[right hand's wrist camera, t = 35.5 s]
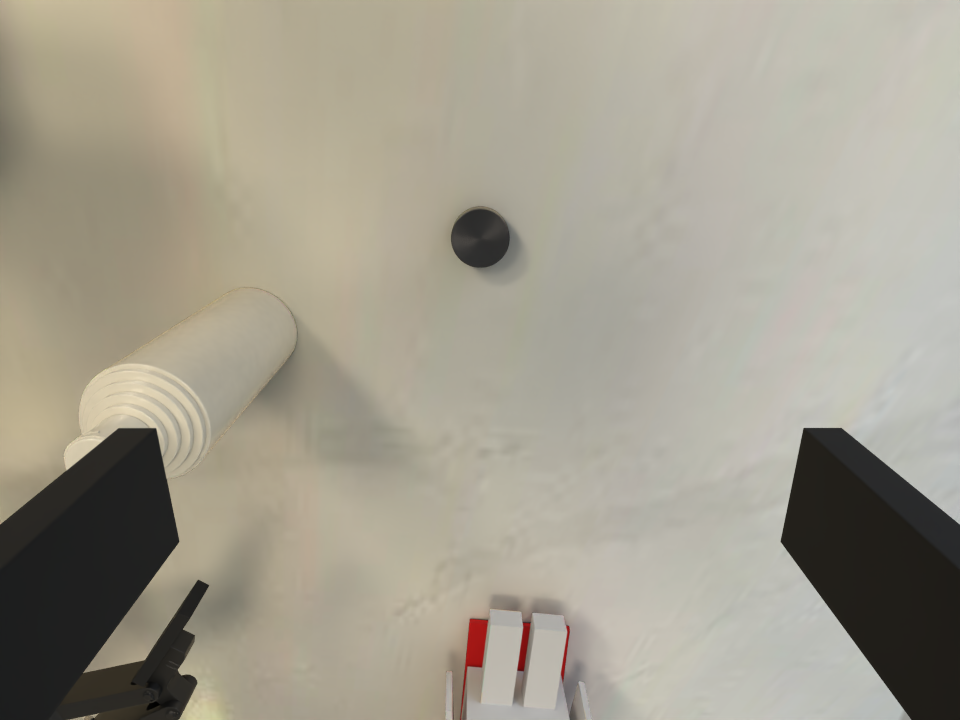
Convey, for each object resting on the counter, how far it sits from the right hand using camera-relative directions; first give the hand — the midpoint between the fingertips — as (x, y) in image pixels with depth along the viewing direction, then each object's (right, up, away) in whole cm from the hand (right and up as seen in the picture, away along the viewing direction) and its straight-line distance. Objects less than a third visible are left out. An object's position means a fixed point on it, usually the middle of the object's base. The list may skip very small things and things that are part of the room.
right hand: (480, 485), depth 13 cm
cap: (0, +11, +30) cm, 32 cm away
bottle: (-17, +5, +34) cm, 38 cm away
